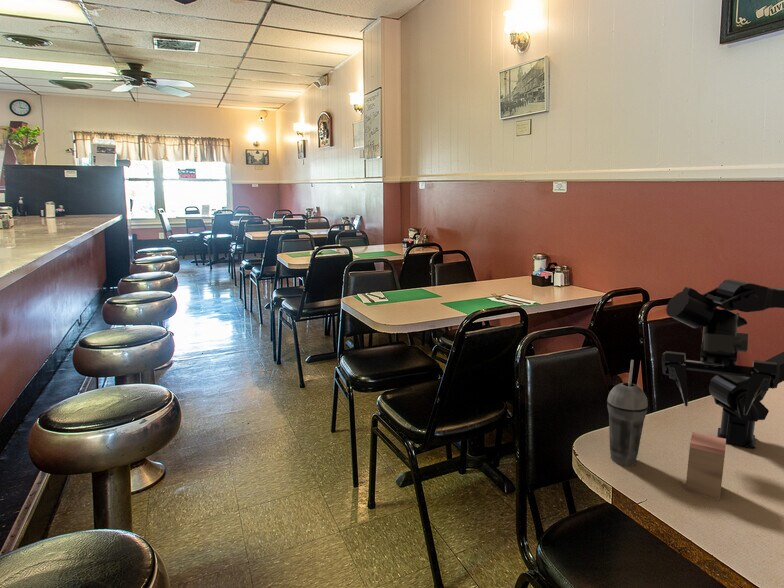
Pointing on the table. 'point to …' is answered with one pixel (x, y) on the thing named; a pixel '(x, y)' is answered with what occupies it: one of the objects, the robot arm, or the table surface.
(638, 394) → the beverage cup
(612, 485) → the table surface
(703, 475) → the wooden block
